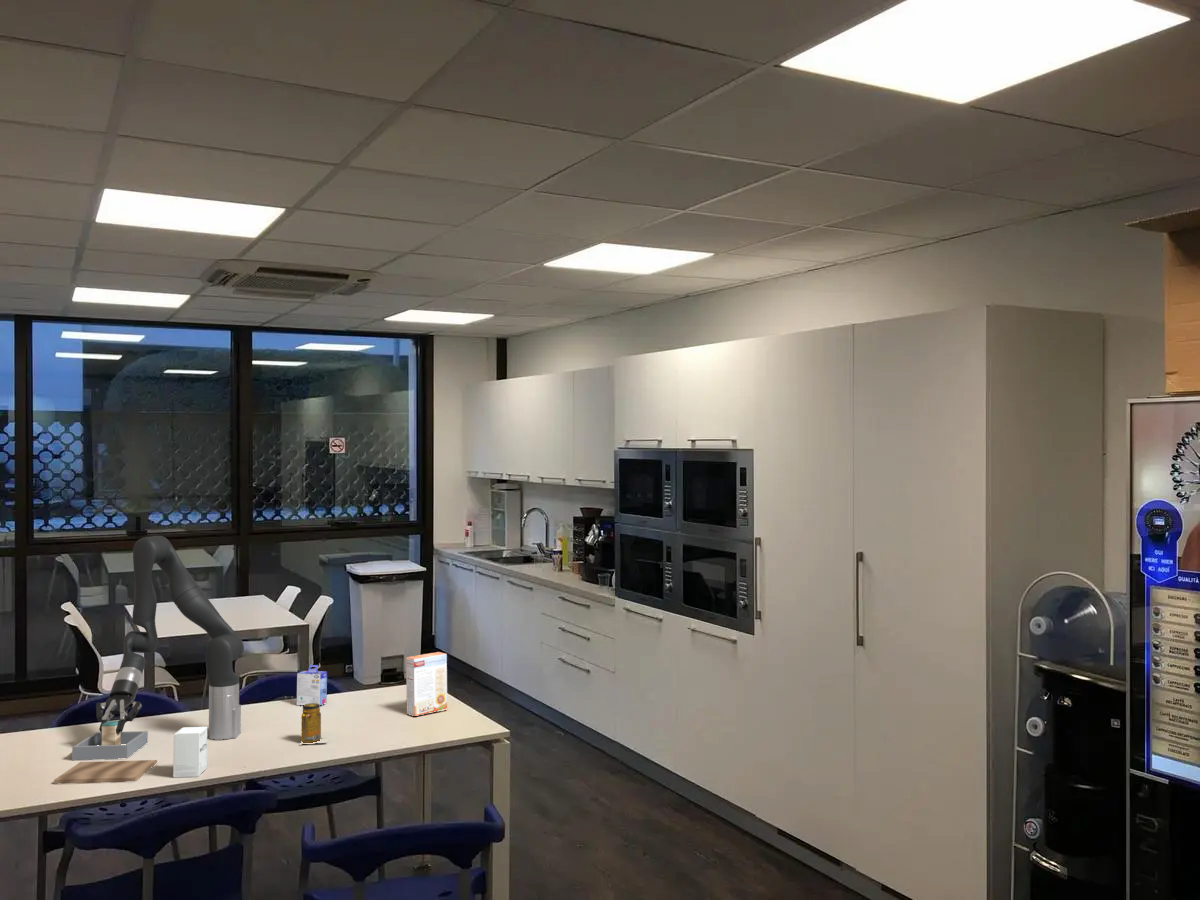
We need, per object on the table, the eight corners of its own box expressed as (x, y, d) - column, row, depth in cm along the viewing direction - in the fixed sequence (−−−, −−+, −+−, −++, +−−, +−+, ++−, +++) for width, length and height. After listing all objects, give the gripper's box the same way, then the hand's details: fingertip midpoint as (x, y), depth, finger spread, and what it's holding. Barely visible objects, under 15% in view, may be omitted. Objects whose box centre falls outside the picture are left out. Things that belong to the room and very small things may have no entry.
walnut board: (157, 763, 281) (157, 759, 281) (135, 781, 265) (135, 777, 265) (80, 766, 279) (80, 762, 279) (53, 784, 263) (53, 779, 263)
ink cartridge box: (327, 703, 353) (327, 664, 354) (320, 707, 348) (320, 667, 348) (303, 702, 355) (303, 663, 356) (296, 705, 350) (296, 666, 350)
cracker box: (438, 707, 347) (438, 651, 347) (447, 711, 342) (447, 653, 343) (405, 714, 337) (405, 656, 338) (414, 717, 333) (414, 658, 333)
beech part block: (120, 749, 296) (120, 720, 296) (115, 753, 292) (115, 724, 292) (107, 750, 295) (107, 721, 295) (101, 753, 291) (101, 724, 291)
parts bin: (147, 743, 302) (147, 731, 302) (127, 758, 286) (127, 745, 286) (95, 744, 301) (95, 732, 301) (72, 760, 285) (72, 747, 285)
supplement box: (199, 777, 269) (199, 733, 269) (172, 778, 268) (172, 733, 269) (207, 769, 276) (208, 726, 277) (181, 769, 276) (182, 726, 276)
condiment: (302, 739, 307) (302, 702, 307) (328, 738, 308) (328, 701, 308) (298, 745, 300) (298, 708, 300) (326, 744, 301) (326, 706, 301)
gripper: (99, 678, 302) (82, 727, 289) (145, 677, 303) (130, 725, 291) (106, 691, 307) (89, 739, 295) (152, 690, 308) (136, 738, 296)
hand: (110, 732), depth 293 cm, fingers closed on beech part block, 4 cm apart
